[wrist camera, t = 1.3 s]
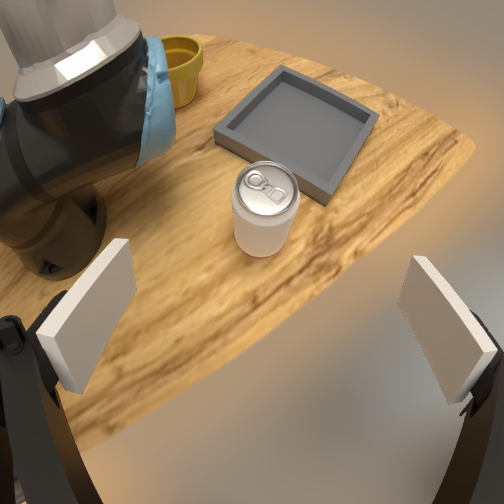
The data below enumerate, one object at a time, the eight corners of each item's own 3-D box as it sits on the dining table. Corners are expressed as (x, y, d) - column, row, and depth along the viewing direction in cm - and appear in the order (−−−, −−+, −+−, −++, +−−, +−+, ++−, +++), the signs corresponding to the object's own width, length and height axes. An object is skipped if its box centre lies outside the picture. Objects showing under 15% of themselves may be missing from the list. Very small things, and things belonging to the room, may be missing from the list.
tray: (215, 143, 42) (213, 129, 39) (279, 78, 47) (280, 64, 44) (325, 206, 40) (331, 195, 36) (373, 127, 44) (379, 114, 41)
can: (255, 200, 40) (259, 145, 28) (296, 229, 39) (316, 182, 27) (223, 238, 38) (215, 192, 26) (266, 269, 37) (275, 234, 25)
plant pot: (191, 69, 47) (184, 27, 38) (218, 99, 45) (214, 53, 35) (138, 93, 45) (124, 52, 36) (160, 127, 43) (145, 82, 34)
